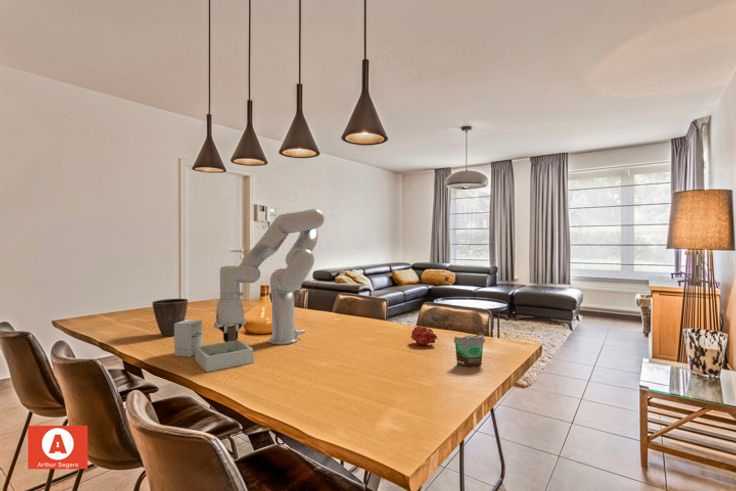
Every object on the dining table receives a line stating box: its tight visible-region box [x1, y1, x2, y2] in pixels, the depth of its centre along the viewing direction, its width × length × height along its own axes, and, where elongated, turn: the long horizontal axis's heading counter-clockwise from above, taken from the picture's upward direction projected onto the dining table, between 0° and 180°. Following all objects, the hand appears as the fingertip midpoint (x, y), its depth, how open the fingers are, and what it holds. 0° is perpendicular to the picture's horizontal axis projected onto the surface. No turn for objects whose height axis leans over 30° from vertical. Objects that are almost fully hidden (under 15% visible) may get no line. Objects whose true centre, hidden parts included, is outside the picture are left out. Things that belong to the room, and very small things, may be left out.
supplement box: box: [173, 319, 203, 358], centre depth 150 cm, size 7×7×13 cm
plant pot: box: [151, 298, 189, 337], centre depth 180 cm, size 15×15×16 cm
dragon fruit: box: [410, 325, 438, 347], centre depth 160 cm, size 8×8×12 cm
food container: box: [453, 332, 486, 368], centre depth 133 cm, size 12×6×10 cm, turn 117°
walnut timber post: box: [227, 324, 236, 342], centre depth 156 cm, size 3×4×9 cm
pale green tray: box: [194, 339, 254, 373], centre depth 140 cm, size 16×16×5 cm
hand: (230, 341), depth 156 cm, fingers closed on walnut timber post, 2 cm apart
